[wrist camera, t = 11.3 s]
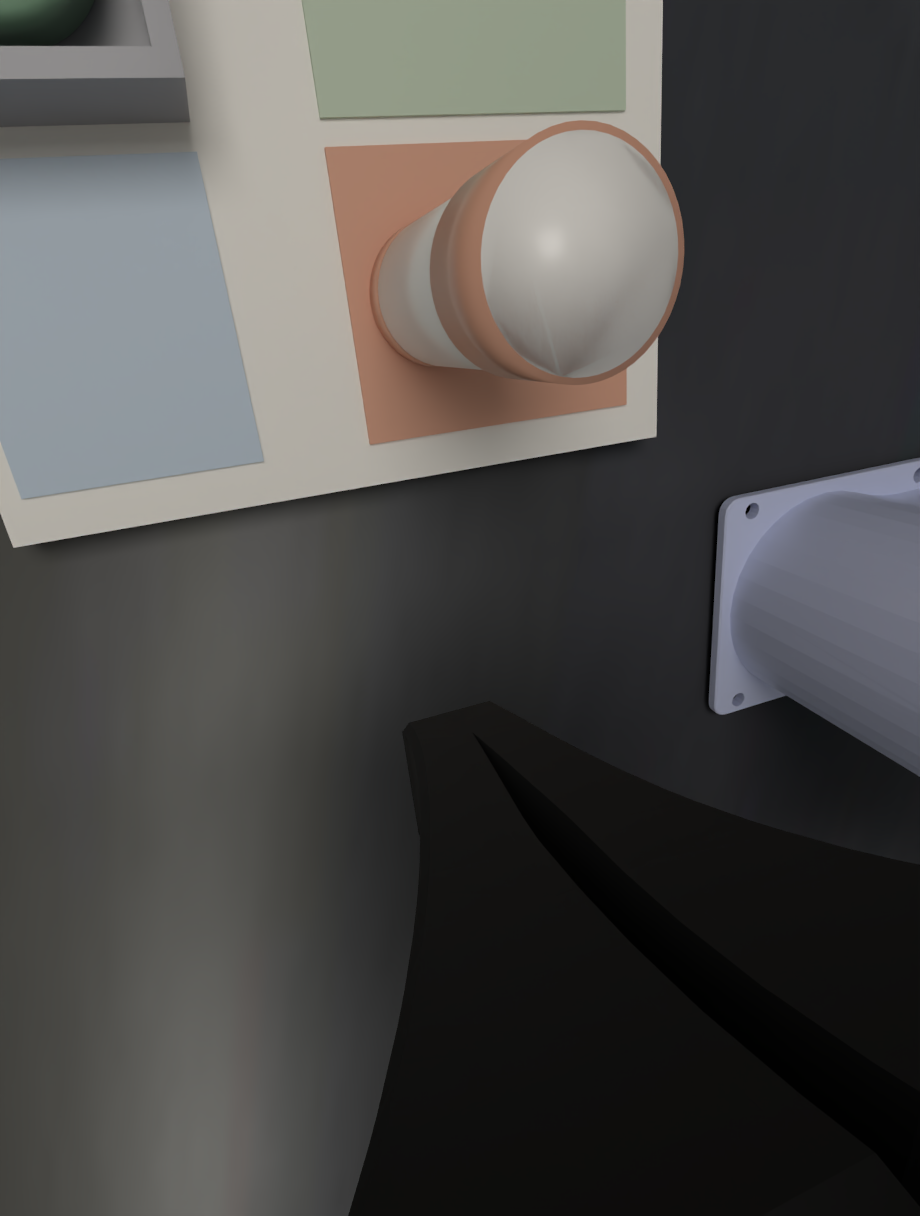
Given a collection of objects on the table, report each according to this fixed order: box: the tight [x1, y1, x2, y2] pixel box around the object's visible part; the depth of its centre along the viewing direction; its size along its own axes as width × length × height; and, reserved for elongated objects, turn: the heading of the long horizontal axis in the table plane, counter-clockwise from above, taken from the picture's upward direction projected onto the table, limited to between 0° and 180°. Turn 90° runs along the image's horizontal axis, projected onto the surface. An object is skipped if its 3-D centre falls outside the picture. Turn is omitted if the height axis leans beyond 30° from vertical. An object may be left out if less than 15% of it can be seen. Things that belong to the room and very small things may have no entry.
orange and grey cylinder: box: [369, 120, 684, 385], centre depth 12 cm, size 3×3×7 cm
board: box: [0, 0, 663, 548], centre depth 14 cm, size 16×13×1 cm
